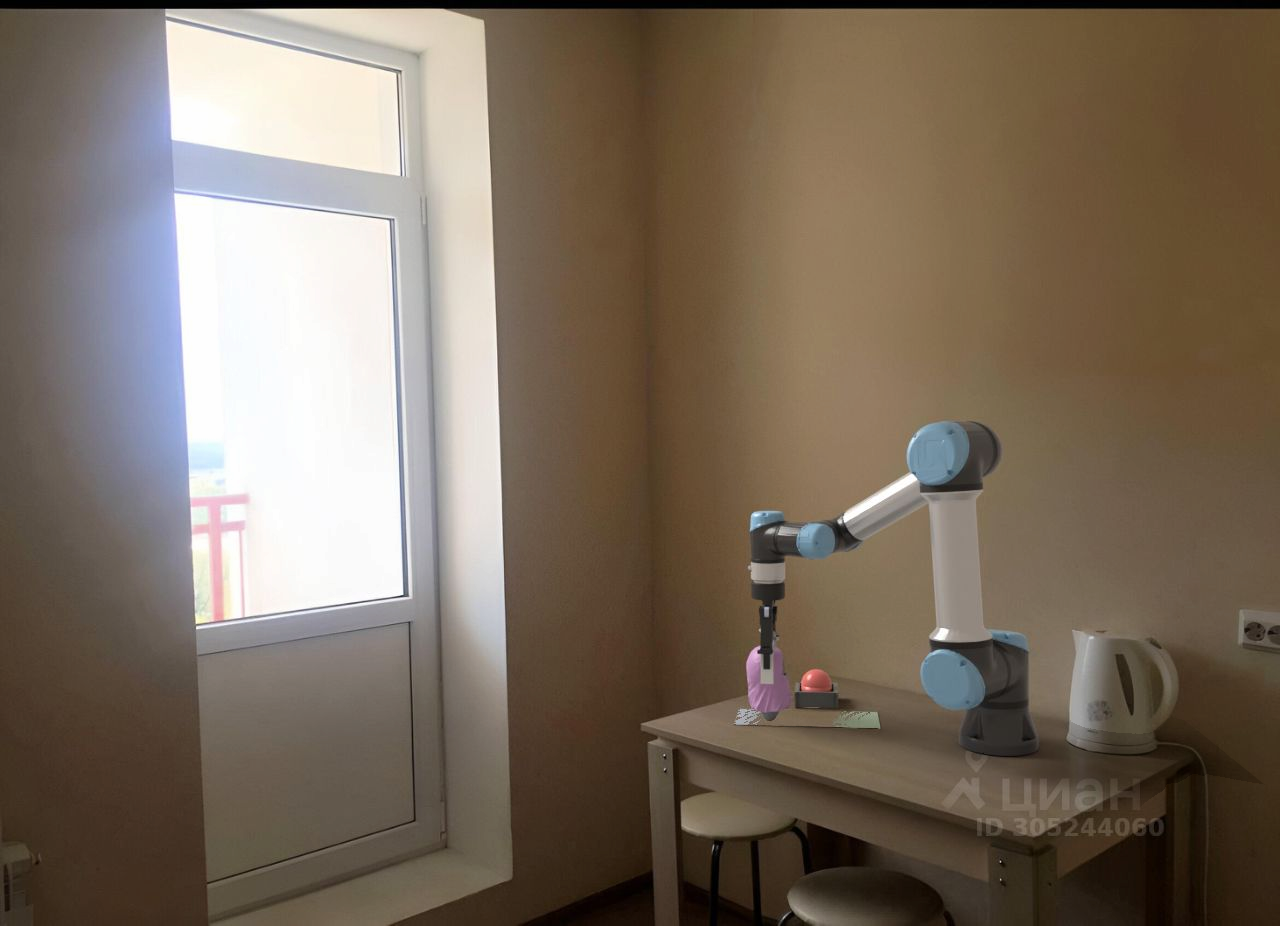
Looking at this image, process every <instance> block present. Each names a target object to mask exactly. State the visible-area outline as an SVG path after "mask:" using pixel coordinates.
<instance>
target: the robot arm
mask: <svg viewBox="0 0 1280 926" xmlns="http://www.w3.org/2000/svg"><path fill="white" fill-rule="evenodd" d="M1002 458H1003V446H1002V441H1001V439H1000V437H999V435H998V434H997V433H996V431H995V430H994V429H993V428H991V427H990V426H988V425H986V424H985V423H982V422H978V421H969V420H968V421H951V420H949V421H947V420H946V421H945V420H942V421H939V422H938V421H937V422H934V423H929V424H927V425H925V426H923V427H921V428H919V430H918V431H916V432H915V433H914V435H913V436H912V438H911V439H910V441H909V443H908V447H907V450H906V463H907V466H908V470H909V472H907V473H906V474H904V475H903V476H901V477H899V478H898V479H896V480H894V481H893V482H890V484H888V485H886V486H884V487H883V488H881V489H879V490H878V491H876V492H875V493H873V494H871V495H870V496H868V497H866V498H865V499H863V500H862V501H860V502H857V504H855V505H853V506H851V507H850V508H849V509H846V511H844V512H842V513H840V514H838V515H837V516H835V517H834V518H831V519H830V518H829V519H823V520H815V521H807V522H798V521H786V519H785V513H784V512H783V511H780V510H759V511H754V512H753V513H752V514H751V516H750V529H749V536H750V537H749V539H750V565H748V566H747V569H748V570H749V571H751V572H750V579H751V580H752V581H751V583H750V597H751V598H752V599H753V600H756V601H762V603H761V605H759V607H758V616H759V627H760V629H761V632H760V645H759V646H760V650H757V654H760V660H761V684H773V683H774V681H773V649H772V647H773V631H774V632H776V637H779V638H780V635H779V634H777V633H778V632H777V625H776V622H777V621H778V620H777V618H778V616H777V615H778V605H777V606H776V601H782V600H783V599H785V597H786V583H785V581H784V580H786V561H785V560H786V559H785V558H786V557H794V558H803V559H808V560H816V559H817V560H824V559H827V558H829V556H831V554H838V553H848V552H851V551H854V550H856V549H858V548H860V547H861V546H862V544H863V542H864V541H865V540H866V539H869V538H870V537H871V536H874V535H875V534H877V533H879V532H880V531H882V530H884V529H886V528H888V527H889V526H891V525H893V524H895V523H897V522H898V521H900V520H902V519H903V518H905V517H907V516H908V515H910V514H912V513H914V512H915V511H918V510H919V509H921V508H922V507H925V506H926V505H928V508H929V509H928V510H929V511H928V512H929V523H930V524H929V525H930V526H929V528H930V542H931V544H930V545H931V555H932V557H931V559H932V573H933V574H932V575H933V588H934V602H935V603H934V606H935V618H936V619H935V620H936V627H935V629H934V630H933V631H932V632H931V633H930V634H929V635H928V639H929V641H928V642H929V653H928V654H927V655H926V657H925V659H924V660H923V661H922V663H921V667H920V681H921V683H922V687H923V688H924V691H925V692H926V694H927V695H928V696H929V697H930V698H931V699H932V700H933V702H934V703H936V704H937V705H938V706H940V707H942V708H944V709H946V710H950V711H964V710H965V711H964V714H963V718H962V720H961V723H960V727H959V729H958V744H959V746H960V747H962V748H964V749H966V750H969V751H972V752H973V753H979V754H983V753H984V754H983V755H991V756H1002V757H1014V756H1015V757H1019V756H1025V755H1026V756H1027V755H1030V754H1033V753H1035V752H1037V751H1038V750H1039V749H1040V745H1039V743H1040V742H1039V741H1040V740H1039V734H1038V730H1037V728H1036V725H1035V723H1034V720H1033V717H1032V714H1031V711H1030V705H1029V704H1030V703H1029V686H1030V685H1029V683H1030V681H1029V680H1030V679H1029V678H1030V677H1029V670H1030V669H1029V654H1030V650H1029V645H1028V642H1029V640H1028V638H1027V636H1026V635H1024V634H1023V633H1022V632H1016V631H1011V630H1002V629H994V628H993V629H992V628H986V627H985V626H984V615H983V614H984V611H983V599H982V597H983V596H982V580H981V567H980V564H981V563H980V551H979V549H980V548H979V547H980V545H979V533H978V517H977V503H976V502H977V499H978V498H979V496H980V495H981V494H982V493H983V492H984V482H983V481H984V479H985V478H987V477H990V475H992V474H993V473H994V472H995V471H996V470H997V469H998V467H999V465H1000V463H1001V461H1002Z"/></svg>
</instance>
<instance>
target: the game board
mask: <svg viewBox="0 0 1280 926" xmlns="http://www.w3.org/2000/svg"><path fill="white" fill-rule="evenodd" d="M739 709H740V710H739ZM739 709H738V711H740V712H738V711H737V714H739V713H741V714H739V715H737V714H736V718H737V717H742V718H740V719H738V720H736V718H735V721H734V724H736V725H735V726H742V725H748V724H749V722H750V721H753V720H754V719H756V718H757V717H758V716H757V715H756V714H759V713H761V712H759V711H758V712H756V711H751V710H754V709H752V708H739ZM747 709H749V710H747ZM747 711H750V712H748V713H745V712H747ZM846 711H847V710H846ZM846 711H844V712H846ZM755 712H756V713H755ZM854 712H855V711H852V712H850V713H849V714H848V713H847V714H846V715H845V714H844V715H843V716H842V717H841V715H840V716H839V718H838V719H837V720H836V721H835V719H836V718H835V719H834V720H833V722H834V721H835V722H834V723H833V724H835V723H841V724H842V725H841V726H839V725H837V726H836V725H835V726H836V727H846V728H845V729H848V728H847V727H848V726H849V727H851V728H850V729H857V728H878V729H877V730H881V724H880V719H879V714H878V713H879V712H878V711H858V712H859V714H857V713H856V715H855V716H854V714H853V716H852V717H851V718H850V716H849V718H848V719H847V720H846V721H845V718H846V717H847V716H848V715H850V714H852V713H854ZM860 712H862V713H860ZM868 712H870V714H869V713H868ZM752 713H754V714H752ZM842 713H843V712H842ZM866 713H868V714H867V715H866ZM745 714H748V715H746V716H744V715H745ZM864 714H865V715H864ZM754 715H755V716H754ZM761 715H762V714H761ZM862 715H864V716H863V717H862ZM743 716H744V717H743ZM750 716H753V717H751V718H749V719H747V717H750ZM759 716H760V715H759ZM860 716H861V717H860ZM859 717H860V719H859V720H858V718H859ZM745 719H747V720H745ZM760 720H762V719H760ZM760 720H759V721H760ZM746 721H748V722H746ZM759 721H757V722H755V723H753V724H756V723H758V722H759ZM735 722H736V723H735ZM744 722H746V723H744ZM765 722H766V721H765ZM822 722H823V721H822ZM845 723H846V725H847V726H846V725H844V724H845ZM858 723H859V724H858ZM734 724H733V725H734ZM756 725H757V724H756Z"/></svg>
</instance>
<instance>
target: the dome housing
mask: <svg viewBox="0 0 1280 926" xmlns="http://www.w3.org/2000/svg"><path fill="white" fill-rule="evenodd" d="M831 683H832V692H819V691H801V681H795V686H794V708H795V707H819V708H838V709H839V687H838V686H839V685H838V682H831Z"/></svg>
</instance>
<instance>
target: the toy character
mask: <svg viewBox="0 0 1280 926" xmlns="http://www.w3.org/2000/svg"><path fill="white" fill-rule="evenodd" d="M758 631H759V633H761V628H759V629H758ZM776 632H777V631H776ZM776 632H774V631H773V647H772V649H773V681H774V683H773V684H761V660H760V654H757V650H760V645H758V646H756V647H754V648H753V649H752V650H751V651H750V652H749V654H748V657H747V660H746V663H745V665H746V666H745V667H746V668H745V669H746V678H747V679H746V680H747V687H748V692H747V696H748V697H747V698H748V703H749V705H750V709H755V710H756V711H759V712H761V713H762V715H763V716H764V718H765V719H766V720H767V721H772V720H774V719H775V718H776V716H777V715H778V713H779V712H780V711H782V710H787V709H789V708H791V705H792V700H794V696H793V694H791V693H792V692H791V687H790V686H791V685H790V681H789V675H788V674H787V673H786V662H785V660H784V657H783V656H784V655H783V651H782V650H781V649H780V648H778V647H777V643H778V641H780V636H779V637H776V635H777V634H776Z"/></svg>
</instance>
